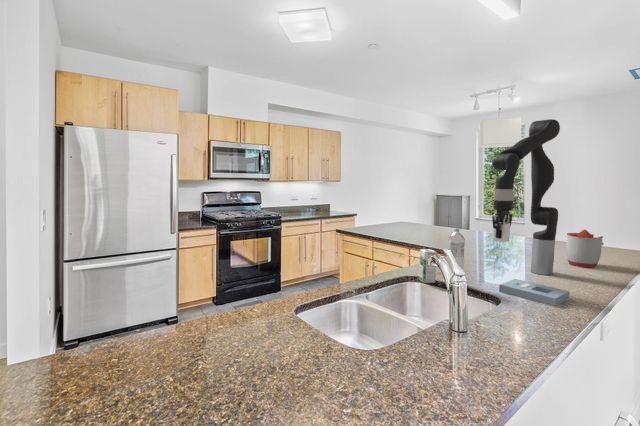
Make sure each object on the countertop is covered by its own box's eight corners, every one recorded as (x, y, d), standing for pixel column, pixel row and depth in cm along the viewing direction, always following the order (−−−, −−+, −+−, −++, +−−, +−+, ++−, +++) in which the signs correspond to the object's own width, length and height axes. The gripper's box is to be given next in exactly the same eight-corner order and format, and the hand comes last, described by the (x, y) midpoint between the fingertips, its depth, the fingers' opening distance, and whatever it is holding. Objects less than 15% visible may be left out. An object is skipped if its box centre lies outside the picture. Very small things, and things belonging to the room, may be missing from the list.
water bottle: (455, 287, 141) (458, 230, 139) (442, 283, 147) (445, 228, 145) (466, 285, 144) (469, 229, 142) (453, 281, 150) (455, 227, 148)
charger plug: (498, 239, 150) (499, 222, 149) (509, 241, 146) (510, 223, 145) (493, 240, 147) (494, 222, 147) (504, 242, 144) (505, 223, 143)
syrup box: (418, 279, 153) (419, 249, 152) (430, 279, 153) (431, 248, 152) (423, 283, 147) (424, 251, 146) (435, 283, 148) (437, 251, 146)
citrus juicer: (611, 269, 173) (615, 231, 171) (578, 269, 173) (581, 231, 171) (588, 262, 188) (591, 227, 186) (557, 261, 189) (560, 227, 187)
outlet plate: (514, 285, 145) (515, 278, 145) (568, 298, 129) (569, 290, 128) (499, 291, 137) (499, 283, 136) (554, 306, 121) (555, 297, 120)
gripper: (502, 198, 152) (500, 234, 154) (486, 199, 144) (484, 238, 146) (520, 199, 146) (517, 237, 148) (504, 200, 138) (502, 240, 139)
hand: (501, 237), depth 147 cm, fingers closed on charger plug, 4 cm apart
